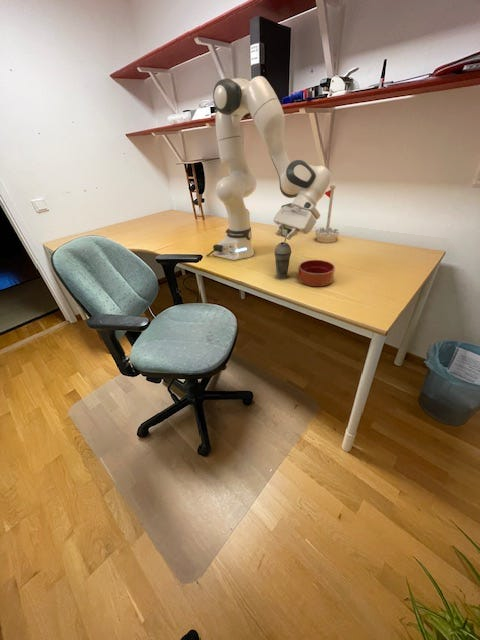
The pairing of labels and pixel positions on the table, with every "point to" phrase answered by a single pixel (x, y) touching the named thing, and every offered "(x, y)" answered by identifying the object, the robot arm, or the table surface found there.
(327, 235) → the flag stand
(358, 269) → the table surface
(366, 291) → the table surface
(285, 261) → the beverage cup
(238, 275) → the table surface
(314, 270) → the bowl
